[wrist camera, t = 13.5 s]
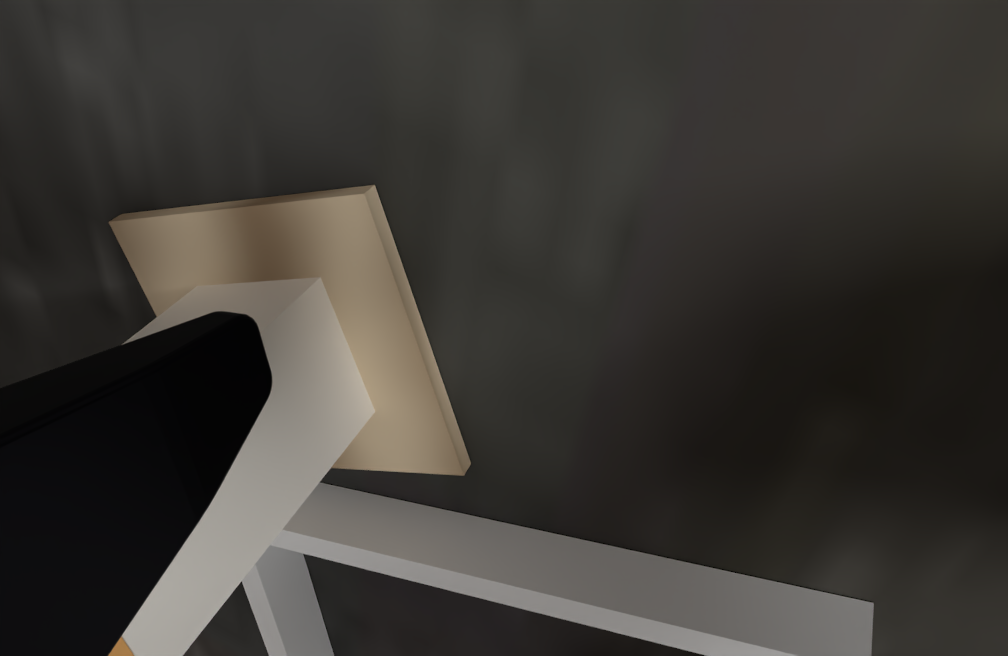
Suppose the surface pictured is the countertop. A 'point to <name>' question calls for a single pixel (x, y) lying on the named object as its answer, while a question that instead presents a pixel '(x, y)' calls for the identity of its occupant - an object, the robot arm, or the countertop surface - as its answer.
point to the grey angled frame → (540, 582)
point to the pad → (350, 287)
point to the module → (257, 452)
